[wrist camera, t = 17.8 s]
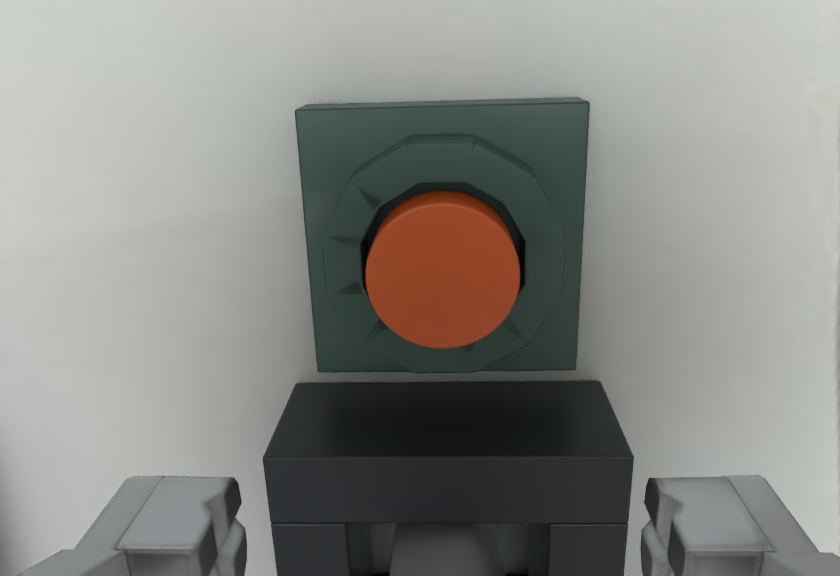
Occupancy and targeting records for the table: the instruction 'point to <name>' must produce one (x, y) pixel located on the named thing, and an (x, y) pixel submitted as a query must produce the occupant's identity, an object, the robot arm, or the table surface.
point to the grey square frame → (449, 471)
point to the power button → (443, 270)
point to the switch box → (451, 171)
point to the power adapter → (447, 550)
